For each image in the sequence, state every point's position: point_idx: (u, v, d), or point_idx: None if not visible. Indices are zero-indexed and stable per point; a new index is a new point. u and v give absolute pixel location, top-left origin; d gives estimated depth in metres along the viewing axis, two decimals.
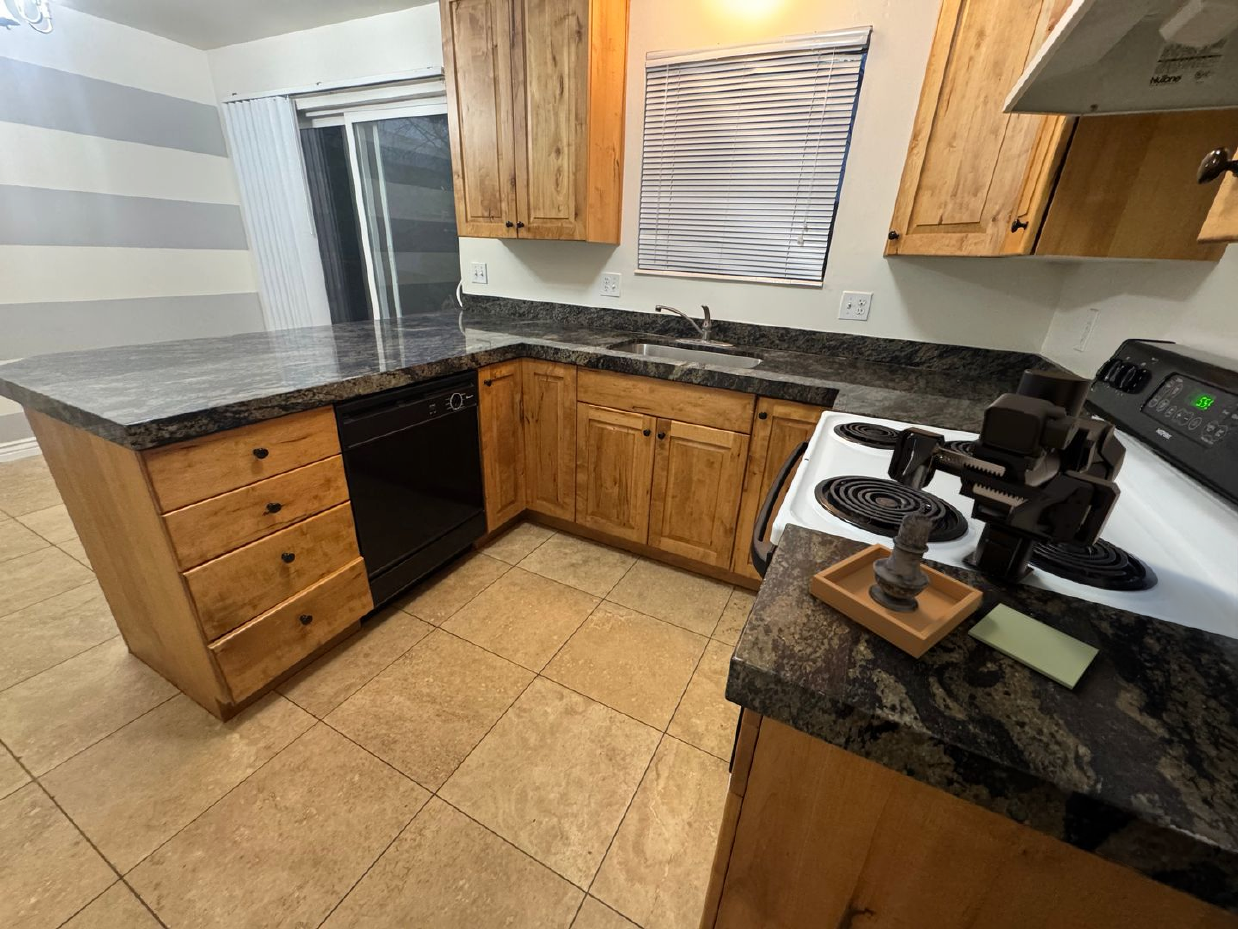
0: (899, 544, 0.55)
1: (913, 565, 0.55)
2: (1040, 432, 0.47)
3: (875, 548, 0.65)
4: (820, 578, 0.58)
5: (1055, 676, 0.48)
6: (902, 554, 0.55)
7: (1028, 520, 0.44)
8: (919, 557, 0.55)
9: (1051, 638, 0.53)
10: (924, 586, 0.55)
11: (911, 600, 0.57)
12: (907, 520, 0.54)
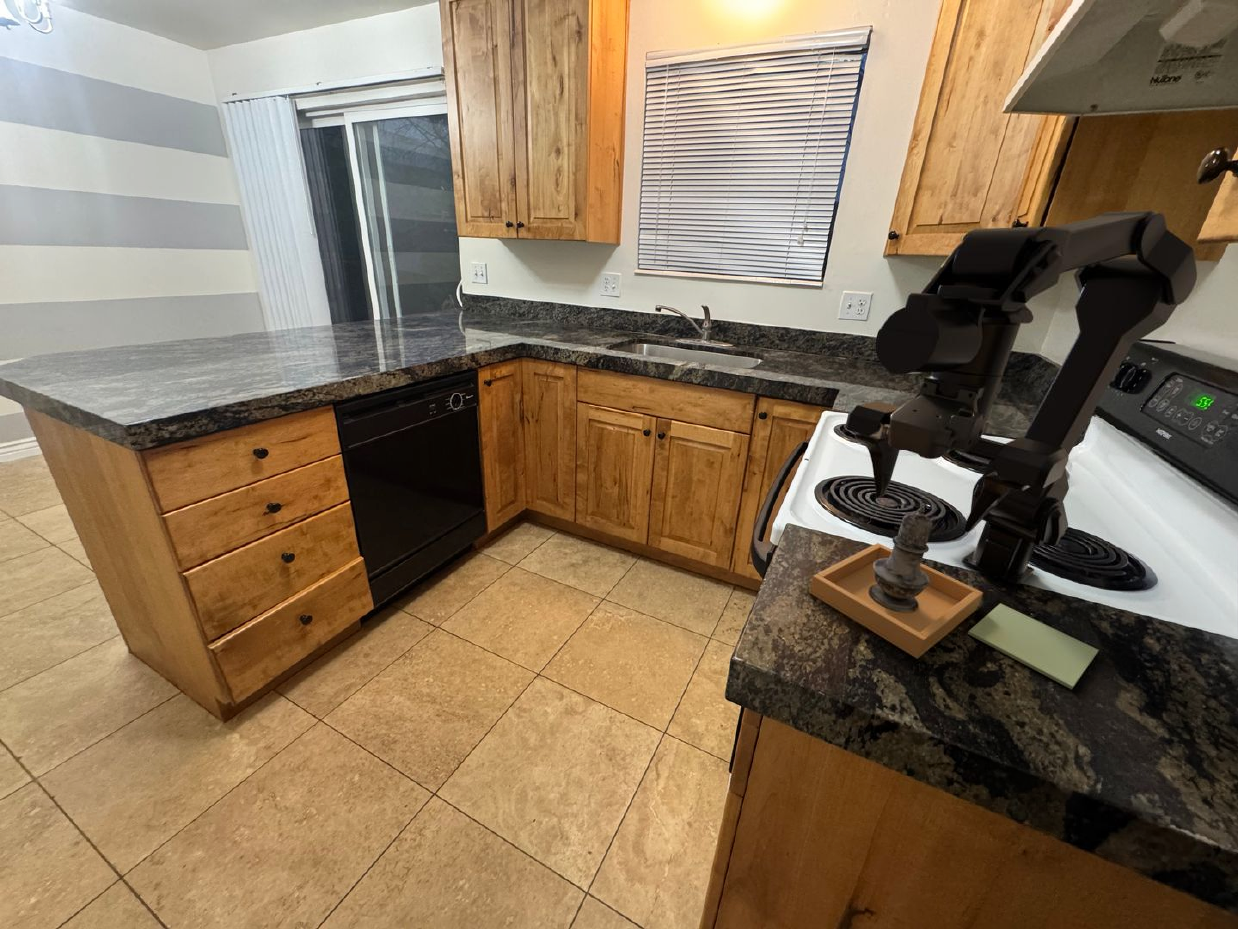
0: (899, 544, 0.55)
1: (913, 565, 0.55)
2: (947, 448, 0.46)
3: (875, 548, 0.65)
4: (820, 578, 0.58)
5: (1055, 676, 0.48)
6: (902, 554, 0.55)
7: (985, 514, 0.49)
8: (919, 557, 0.55)
9: (1051, 638, 0.53)
10: (924, 586, 0.55)
11: (911, 600, 0.57)
12: (907, 520, 0.54)
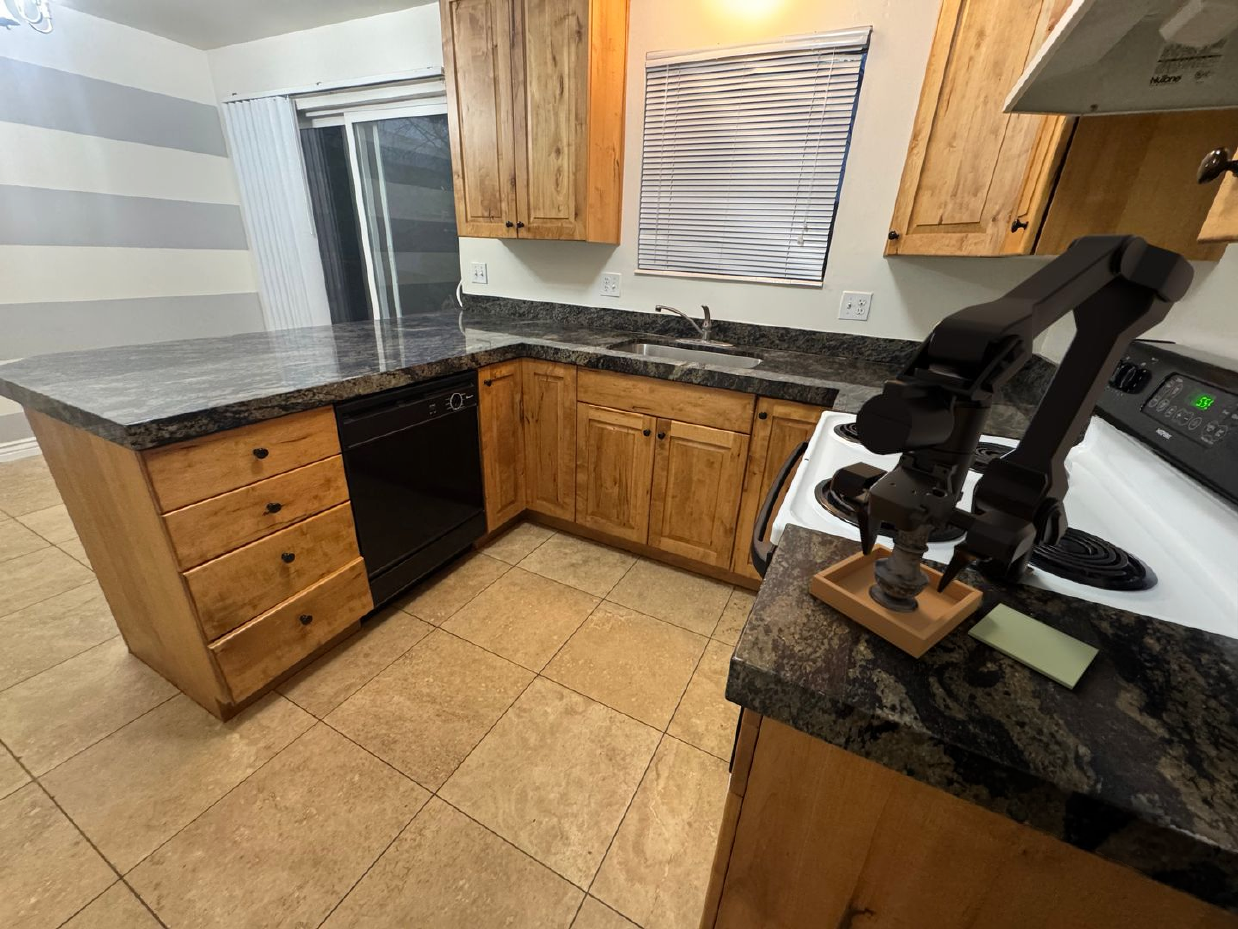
0: (899, 544, 0.55)
1: (913, 565, 0.55)
2: None
3: (875, 548, 0.65)
4: (820, 578, 0.58)
5: (1055, 676, 0.48)
6: (902, 554, 0.55)
7: (956, 577, 0.53)
8: (919, 557, 0.55)
9: (1051, 638, 0.53)
10: (924, 586, 0.55)
11: (911, 600, 0.57)
12: None
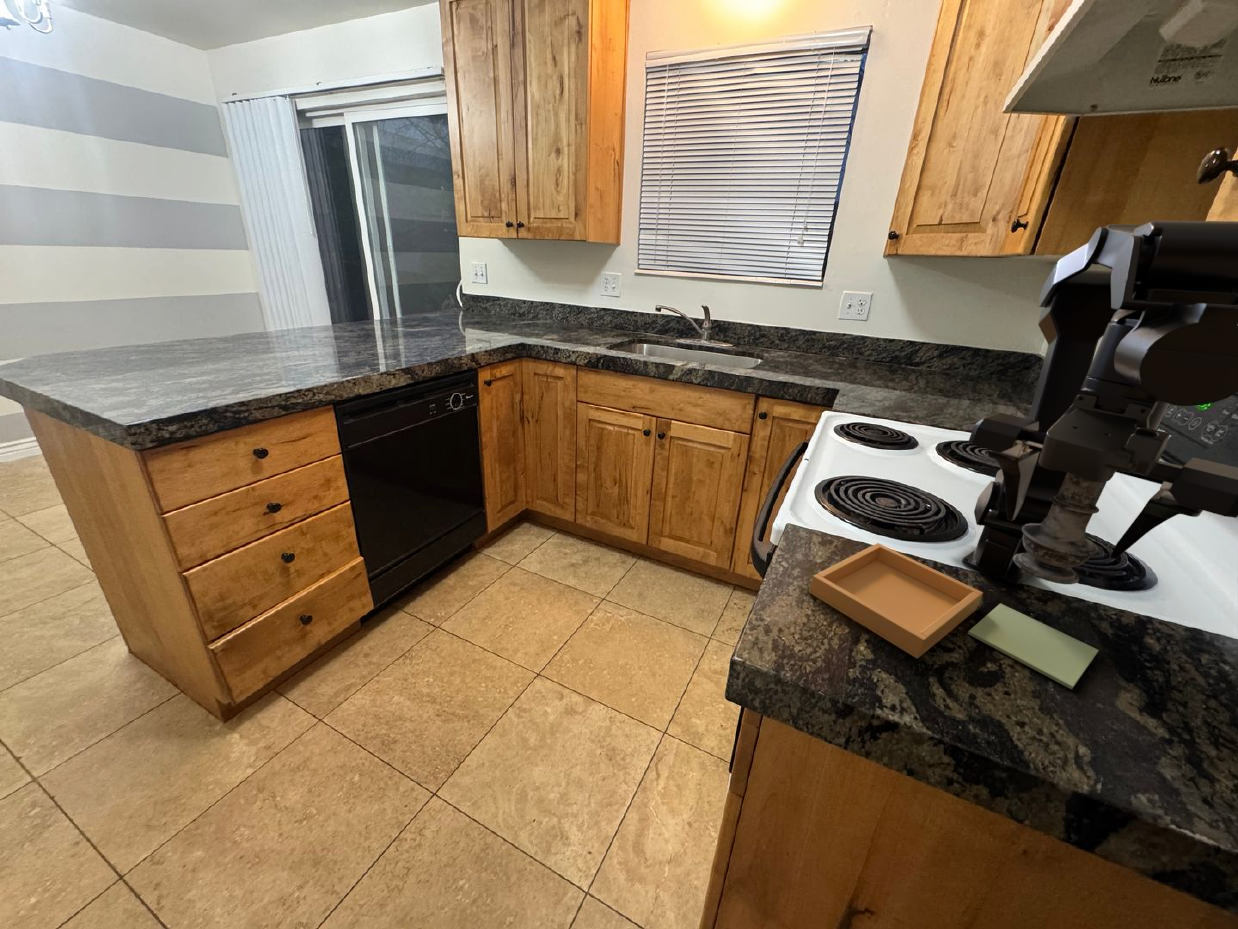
0: (1071, 506, 0.46)
1: (1084, 527, 0.47)
2: (1116, 470, 0.40)
3: (875, 548, 0.65)
4: (820, 578, 0.58)
5: (1055, 676, 0.48)
6: (1075, 517, 0.47)
7: None
8: (1090, 517, 0.47)
9: (1051, 638, 0.53)
10: (1096, 549, 0.47)
11: None
12: None
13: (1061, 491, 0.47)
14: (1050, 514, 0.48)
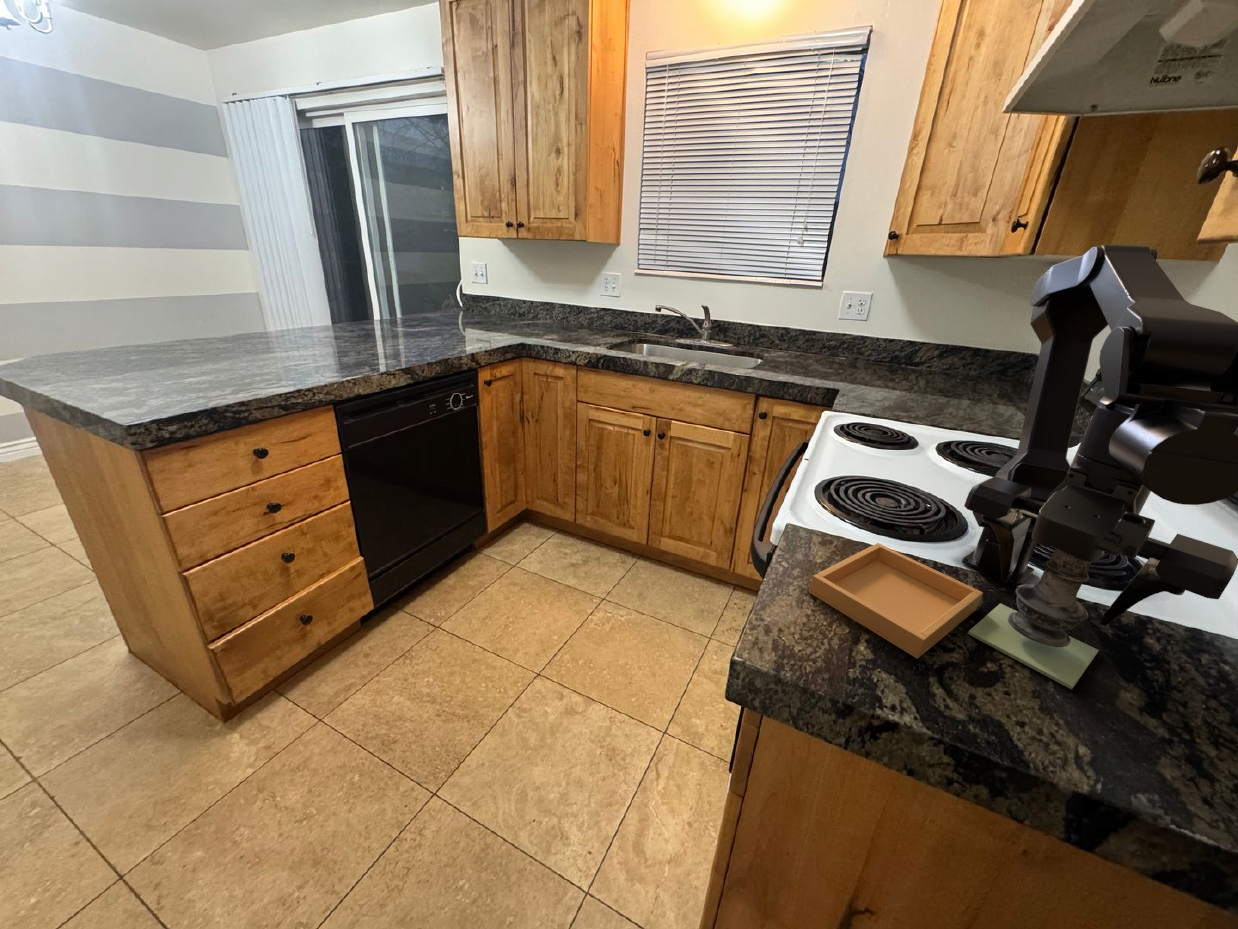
0: (1063, 574, 0.48)
1: (1075, 594, 0.49)
2: None
3: (875, 548, 0.65)
4: (820, 578, 0.58)
5: (1055, 676, 0.48)
6: (1066, 585, 0.49)
7: None
8: (1081, 584, 0.49)
9: None
10: (1087, 614, 0.49)
11: None
12: None
13: (1053, 558, 0.49)
14: (1043, 579, 0.50)
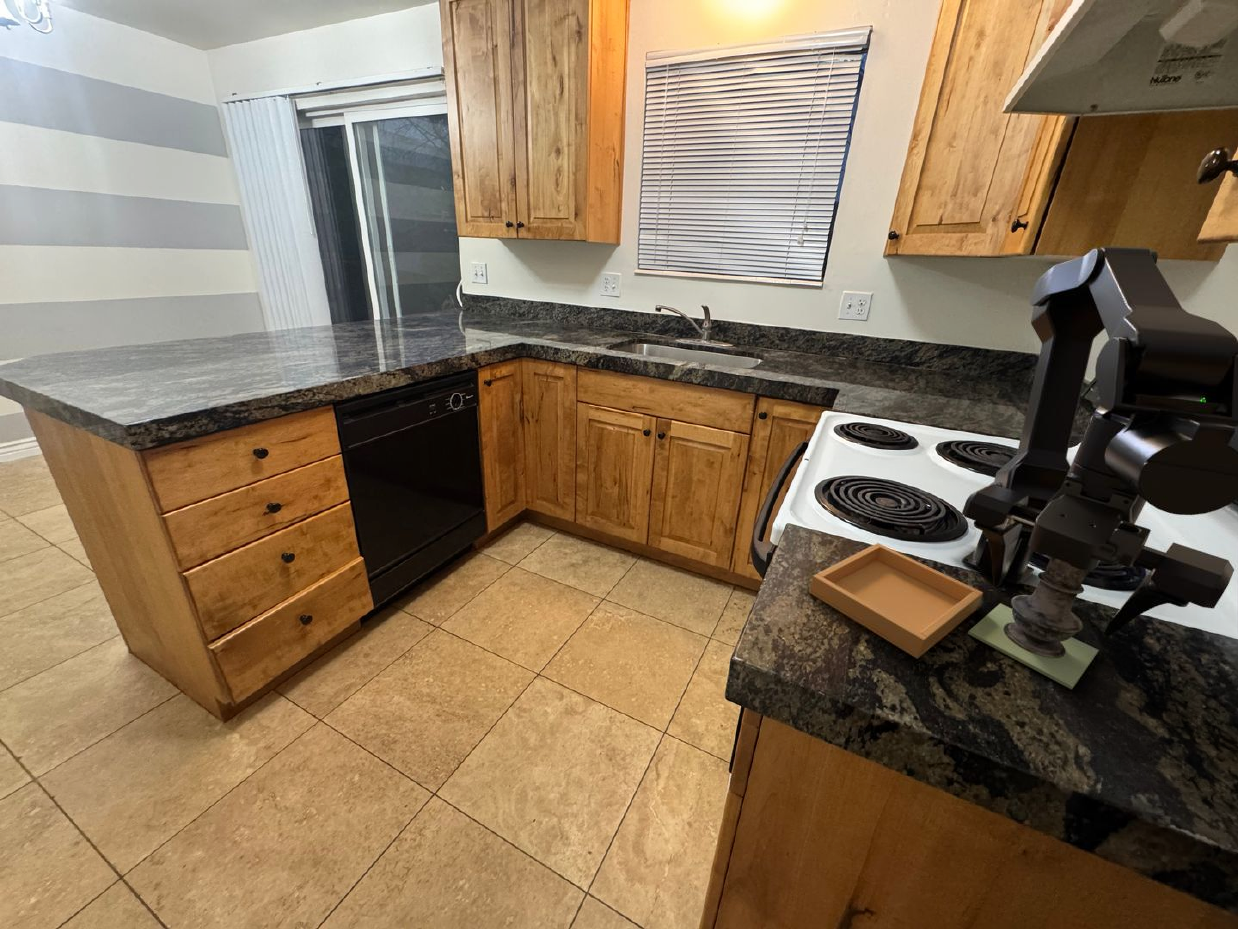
0: (1045, 579, 0.50)
1: (1060, 605, 0.49)
2: None
3: (875, 548, 0.65)
4: (820, 578, 0.58)
5: (1055, 676, 0.48)
6: (1047, 591, 0.50)
7: None
8: (1069, 598, 0.49)
9: None
10: (1071, 631, 0.49)
11: (1056, 646, 0.51)
12: None
13: (1047, 566, 0.51)
14: None
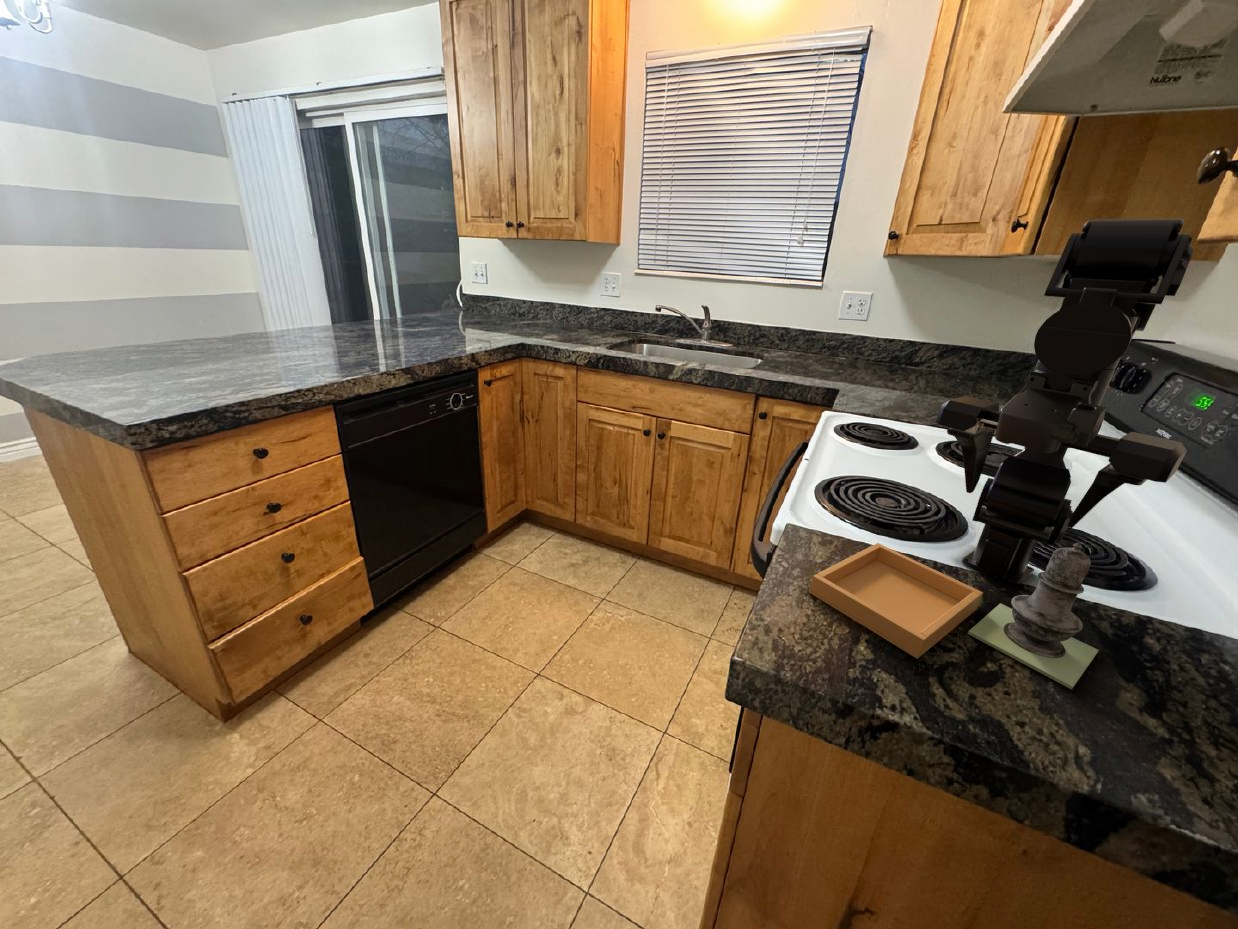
0: (1045, 579, 0.50)
1: (1060, 605, 0.49)
2: (1061, 442, 0.45)
3: (875, 548, 0.65)
4: (820, 578, 0.58)
5: (1055, 676, 0.48)
6: (1047, 591, 0.50)
7: (1091, 509, 0.49)
8: (1069, 598, 0.49)
9: None
10: (1071, 631, 0.49)
11: (1056, 646, 0.51)
12: (1057, 554, 0.49)
13: (1047, 566, 0.51)
14: None
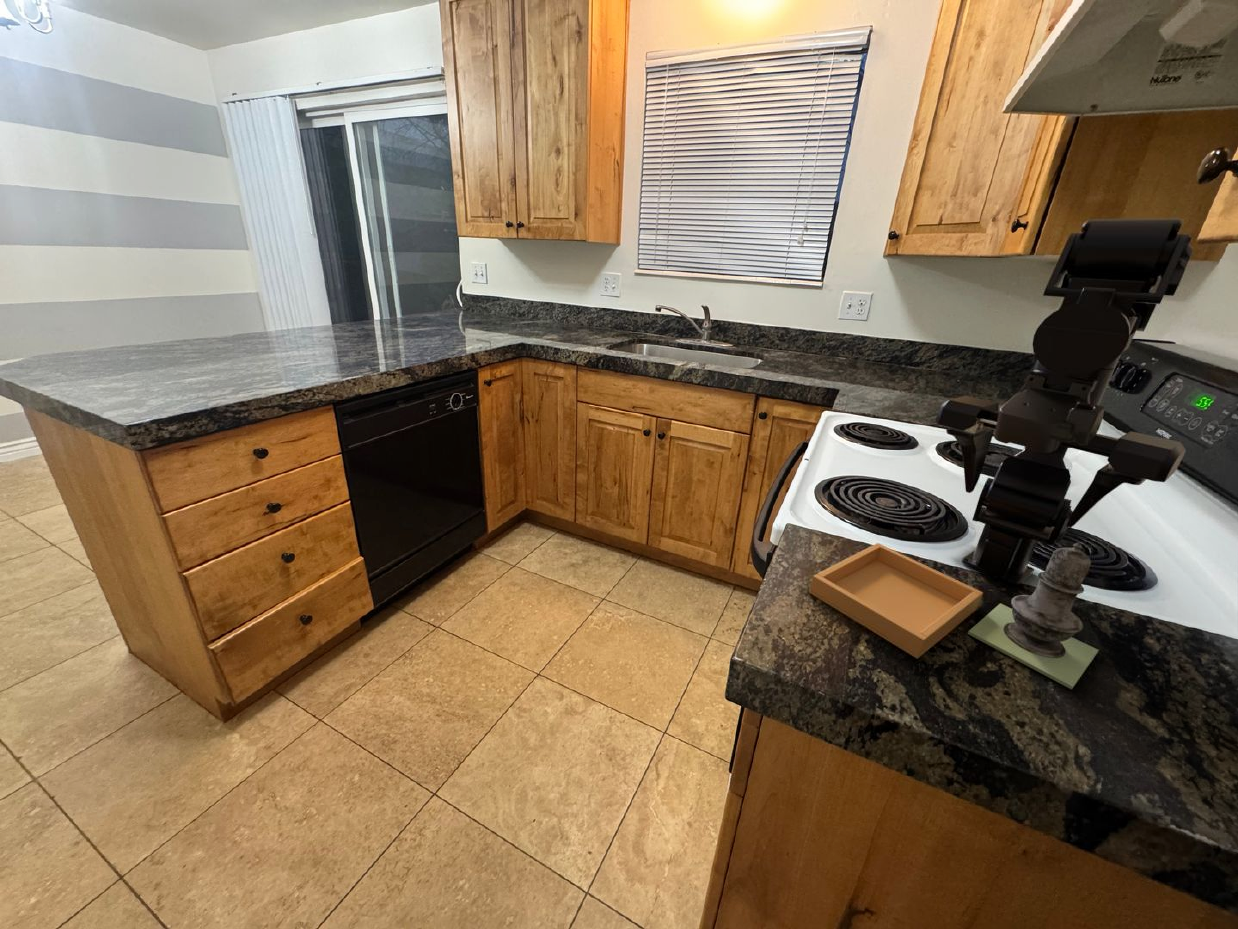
0: (1045, 579, 0.50)
1: (1060, 605, 0.49)
2: (1060, 441, 0.45)
3: (875, 548, 0.65)
4: (820, 578, 0.58)
5: (1055, 676, 0.48)
6: (1047, 591, 0.50)
7: (1090, 509, 0.49)
8: (1069, 598, 0.49)
9: None
10: (1071, 631, 0.49)
11: (1056, 646, 0.51)
12: (1057, 554, 0.49)
13: (1047, 566, 0.51)
14: None
